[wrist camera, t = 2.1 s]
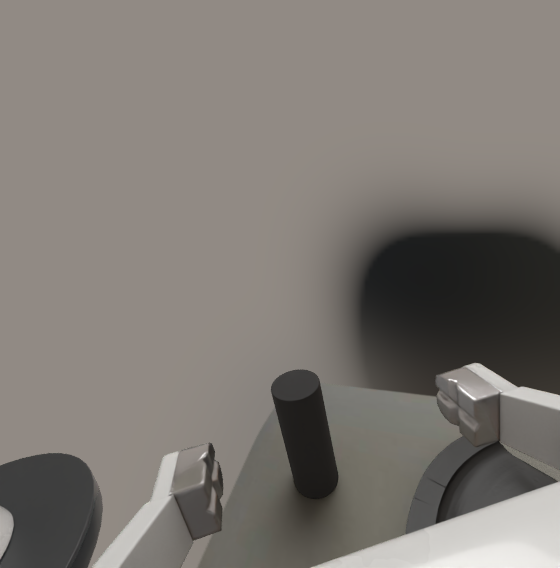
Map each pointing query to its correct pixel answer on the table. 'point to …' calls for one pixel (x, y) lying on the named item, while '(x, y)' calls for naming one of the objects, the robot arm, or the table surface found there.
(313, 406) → the dark cylindrical post
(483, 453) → the dark sector wedge
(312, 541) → the table surface
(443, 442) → the table surface
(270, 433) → the table surface
